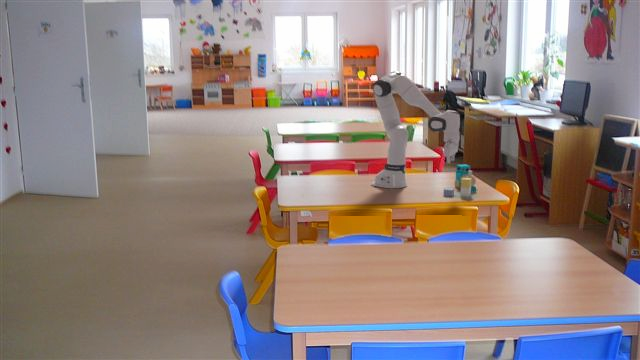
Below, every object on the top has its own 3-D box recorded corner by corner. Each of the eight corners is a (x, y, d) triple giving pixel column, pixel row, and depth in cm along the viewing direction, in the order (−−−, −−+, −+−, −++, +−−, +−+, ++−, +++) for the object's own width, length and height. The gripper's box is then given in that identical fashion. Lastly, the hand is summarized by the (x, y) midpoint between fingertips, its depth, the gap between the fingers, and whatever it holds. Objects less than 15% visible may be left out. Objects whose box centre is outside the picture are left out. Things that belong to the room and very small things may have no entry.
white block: (460, 195, 389) (460, 187, 388) (462, 194, 394) (462, 185, 393) (468, 196, 387) (469, 188, 386) (470, 195, 392) (471, 186, 391)
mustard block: (460, 187, 389) (461, 179, 388) (462, 185, 393) (463, 177, 392) (469, 188, 387) (469, 179, 386) (471, 186, 391) (471, 178, 390)
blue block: (443, 197, 390) (443, 189, 389) (445, 196, 394) (445, 187, 393) (451, 198, 388) (452, 190, 387) (453, 197, 392) (454, 188, 391)
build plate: (451, 198, 388) (451, 196, 388) (456, 194, 399) (457, 192, 399) (474, 200, 383) (474, 198, 382) (478, 196, 394) (478, 194, 394)
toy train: (466, 194, 400) (467, 169, 397) (453, 188, 416) (455, 164, 413) (478, 193, 402) (479, 169, 399) (465, 187, 418) (466, 164, 415)
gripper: (452, 141, 373) (451, 165, 376) (460, 136, 391) (459, 159, 394) (441, 140, 376) (440, 164, 379) (450, 135, 394) (449, 158, 397)
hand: (450, 161), depth 387 cm, fingers open, 8 cm apart
